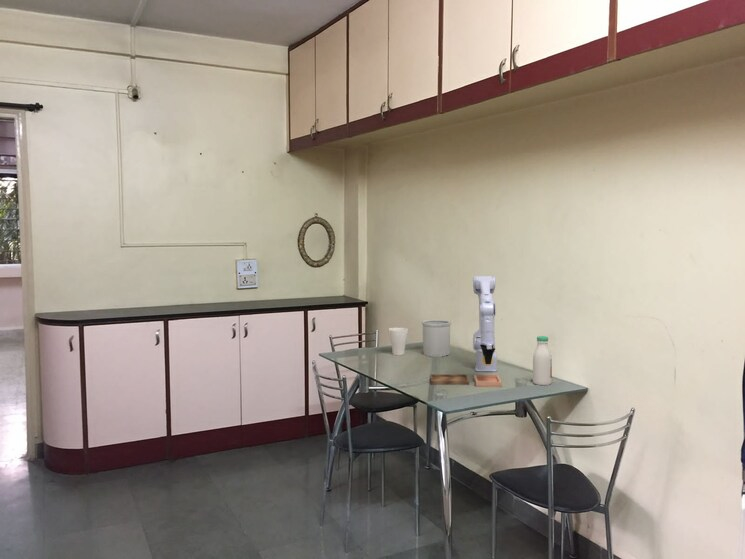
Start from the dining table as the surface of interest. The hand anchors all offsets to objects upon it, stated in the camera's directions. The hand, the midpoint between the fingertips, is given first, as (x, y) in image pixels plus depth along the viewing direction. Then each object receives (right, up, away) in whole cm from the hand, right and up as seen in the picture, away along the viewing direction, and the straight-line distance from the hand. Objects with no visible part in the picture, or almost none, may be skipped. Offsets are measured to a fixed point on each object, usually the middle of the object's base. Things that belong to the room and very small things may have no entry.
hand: (487, 362), depth 264 cm
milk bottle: (+23, -9, -1) cm, 25 cm away
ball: (0, +1, 0) cm, 1 cm away
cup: (-35, -4, +62) cm, 72 cm away
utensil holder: (-15, -4, +61) cm, 63 cm away
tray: (-16, -9, +5) cm, 19 cm away
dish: (0, -9, +1) cm, 9 cm away
